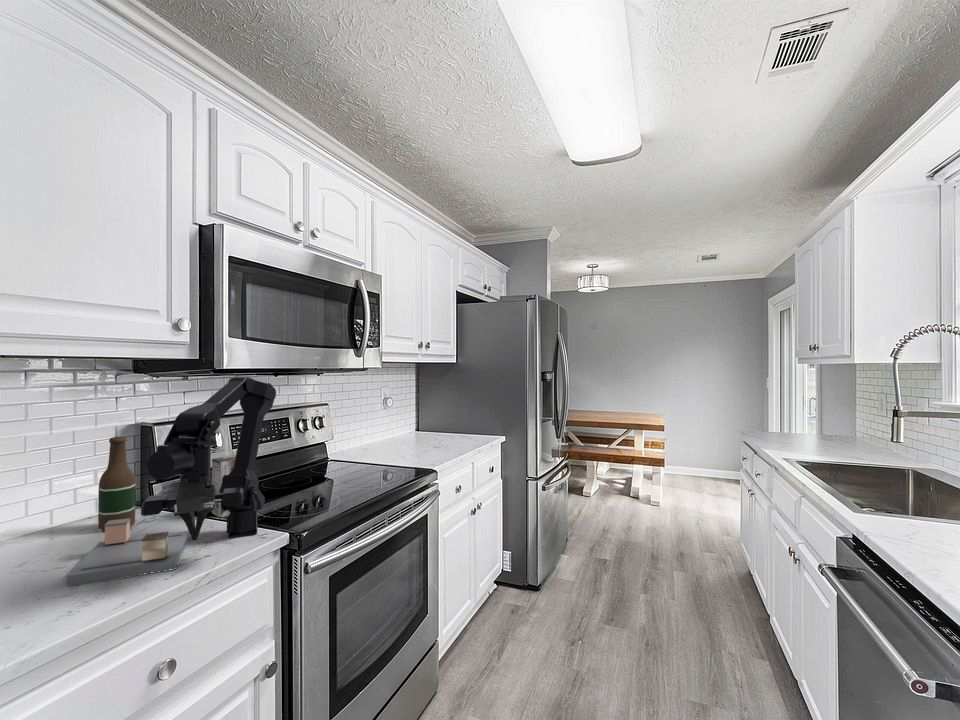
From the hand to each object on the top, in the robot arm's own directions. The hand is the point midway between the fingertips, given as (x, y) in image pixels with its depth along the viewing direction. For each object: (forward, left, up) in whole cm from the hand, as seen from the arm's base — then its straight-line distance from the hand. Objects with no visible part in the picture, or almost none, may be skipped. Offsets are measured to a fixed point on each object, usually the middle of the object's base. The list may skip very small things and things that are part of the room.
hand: (195, 539), depth 102 cm
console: (+12, -7, -5) cm, 15 cm away
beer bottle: (+22, -34, -5) cm, 41 cm away
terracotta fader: (+17, -14, -2) cm, 22 cm away
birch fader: (+7, 0, -2) cm, 8 cm away
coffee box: (-5, -36, -5) cm, 37 cm away
